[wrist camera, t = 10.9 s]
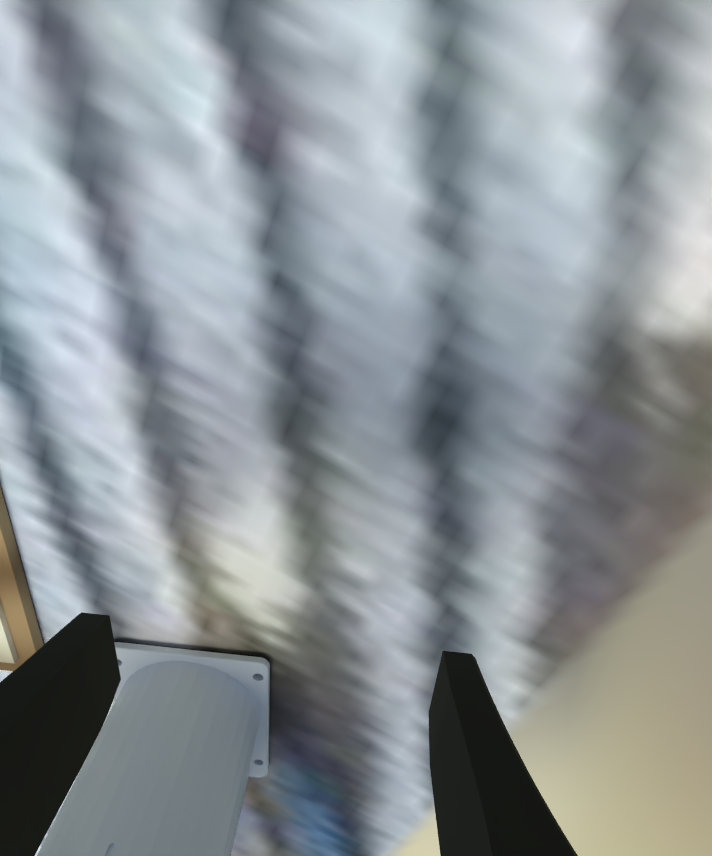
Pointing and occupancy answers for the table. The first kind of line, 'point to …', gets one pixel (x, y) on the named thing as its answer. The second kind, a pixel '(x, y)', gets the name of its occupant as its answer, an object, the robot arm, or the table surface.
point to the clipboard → (14, 602)
